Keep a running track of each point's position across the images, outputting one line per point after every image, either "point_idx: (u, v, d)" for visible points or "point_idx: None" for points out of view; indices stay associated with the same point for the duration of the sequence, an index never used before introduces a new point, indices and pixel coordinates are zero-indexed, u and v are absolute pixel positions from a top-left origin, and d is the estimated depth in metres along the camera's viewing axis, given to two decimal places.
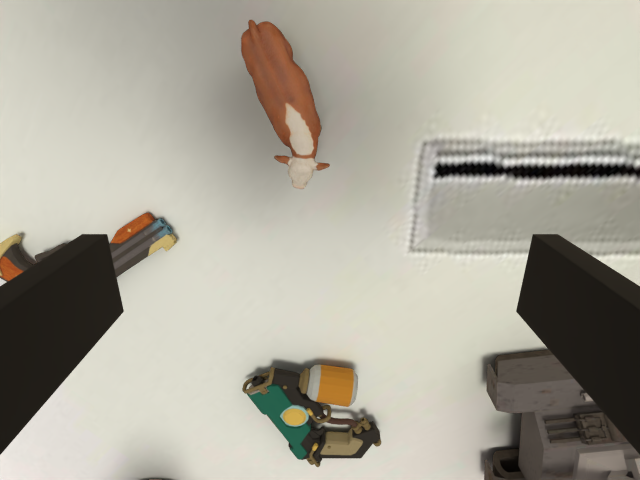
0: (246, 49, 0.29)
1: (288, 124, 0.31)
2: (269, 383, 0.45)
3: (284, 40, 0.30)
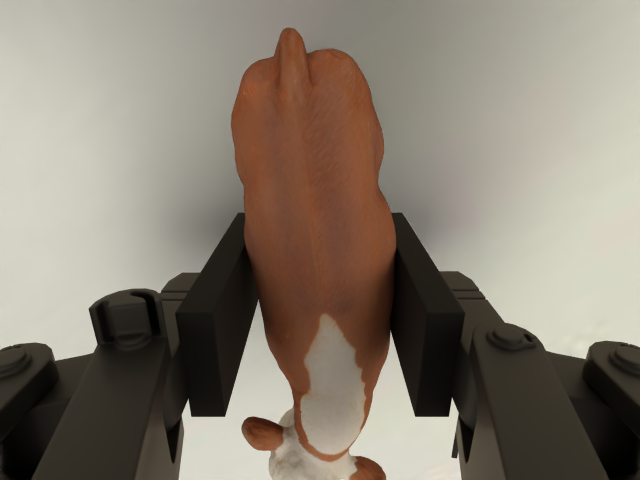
0: (247, 119, 0.08)
1: (311, 369, 0.10)
2: None
3: (376, 126, 0.09)
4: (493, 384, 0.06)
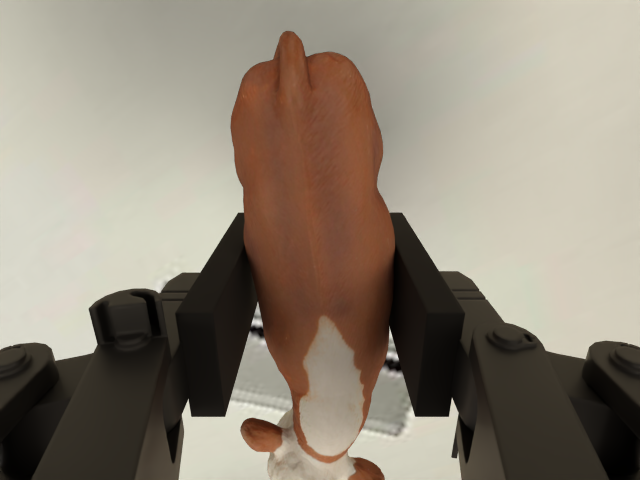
0: (247, 122, 0.08)
1: (310, 370, 0.10)
2: None
3: (375, 128, 0.09)
4: (493, 384, 0.06)
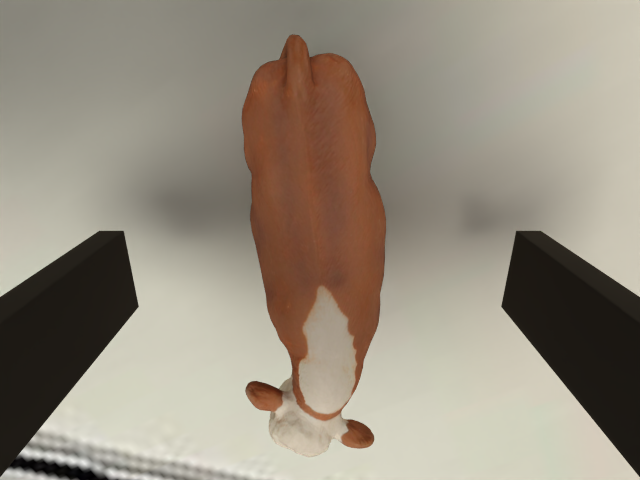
0: (258, 113, 0.10)
1: (308, 335, 0.11)
2: None
3: (369, 121, 0.11)
4: None
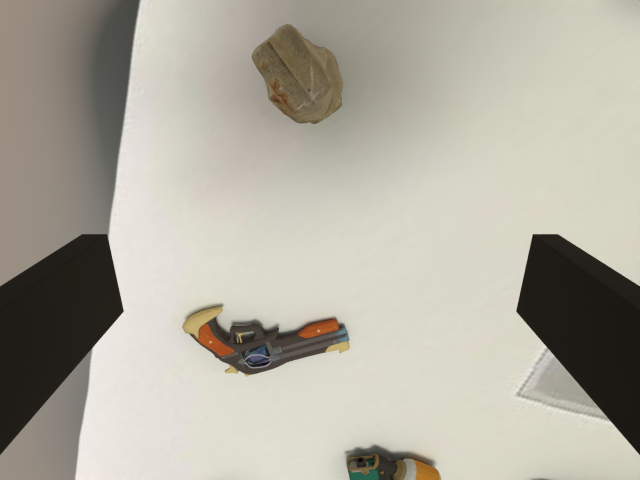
0: None
1: None
2: (373, 468, 0.54)
3: None
4: None
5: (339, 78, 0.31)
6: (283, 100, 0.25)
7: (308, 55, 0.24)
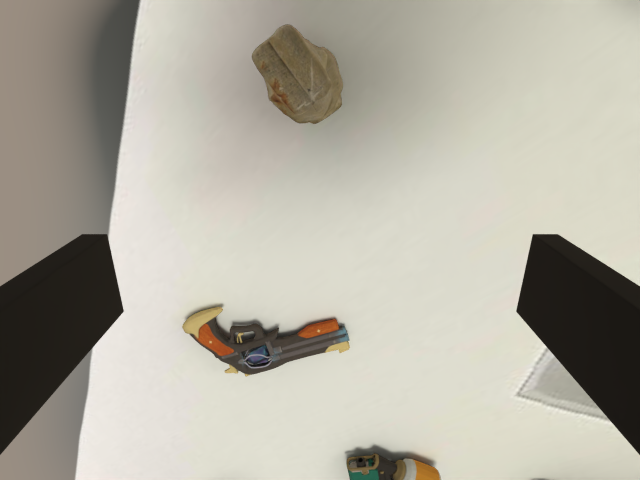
0: None
1: None
2: (373, 468, 0.54)
3: None
4: None
5: (339, 78, 0.31)
6: (283, 100, 0.25)
7: (308, 55, 0.24)
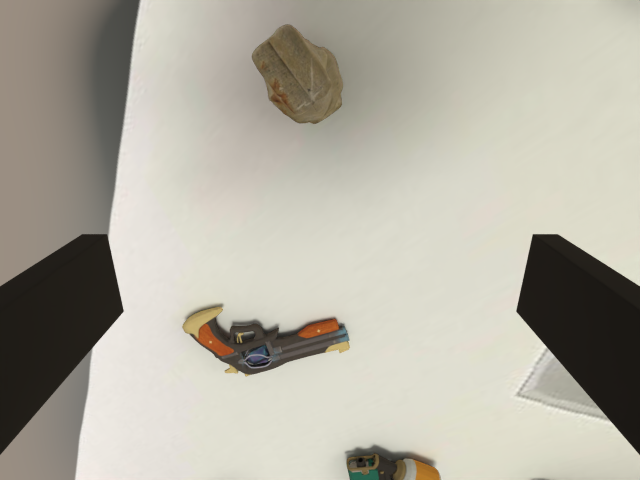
0: None
1: None
2: (373, 468, 0.54)
3: None
4: None
5: (339, 78, 0.31)
6: (283, 100, 0.25)
7: (308, 55, 0.24)
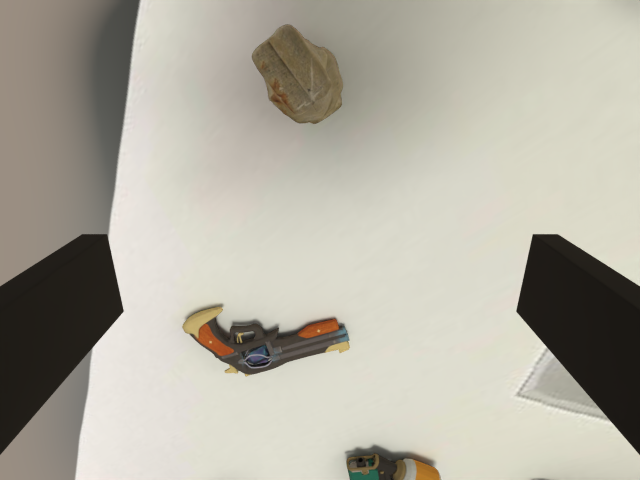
0: None
1: None
2: (373, 468, 0.54)
3: None
4: None
5: (339, 78, 0.31)
6: (283, 100, 0.25)
7: (308, 55, 0.24)
